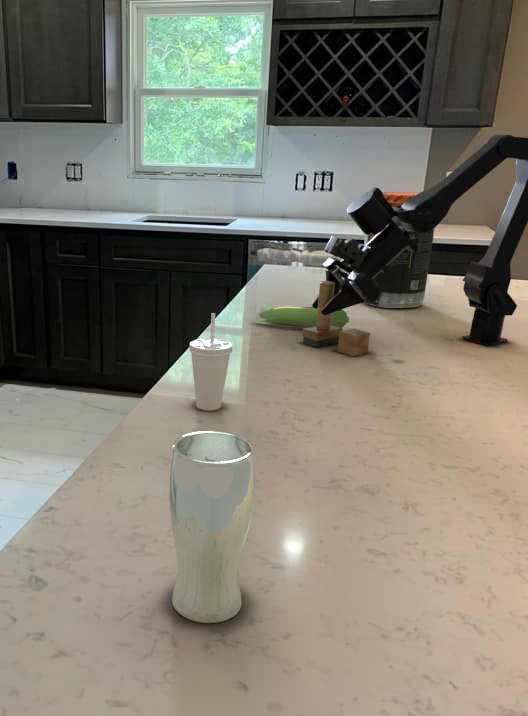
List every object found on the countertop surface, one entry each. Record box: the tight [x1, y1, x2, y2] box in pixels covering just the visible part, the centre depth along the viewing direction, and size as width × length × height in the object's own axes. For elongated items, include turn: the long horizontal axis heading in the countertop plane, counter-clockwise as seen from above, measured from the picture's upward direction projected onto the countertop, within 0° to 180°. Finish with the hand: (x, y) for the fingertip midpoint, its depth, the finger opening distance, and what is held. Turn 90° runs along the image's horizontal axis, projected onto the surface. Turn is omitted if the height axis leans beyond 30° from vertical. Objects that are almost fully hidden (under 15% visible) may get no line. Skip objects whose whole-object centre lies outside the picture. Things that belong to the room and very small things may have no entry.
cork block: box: [337, 328, 371, 357], centre depth 139 cm, size 4×4×4 cm
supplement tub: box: [363, 191, 435, 309], centre depth 176 cm, size 16×16×26 cm
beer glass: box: [168, 430, 256, 624], centre depth 61 cm, size 7×7×15 cm
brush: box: [302, 280, 343, 348], centre depth 143 cm, size 7×4×12 cm, turn 126°
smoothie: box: [188, 312, 234, 411], centre depth 108 cm, size 6×6×14 cm
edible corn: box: [253, 306, 350, 329], centre depth 156 cm, size 5×20×5 cm, turn 74°
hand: (317, 310), depth 143 cm, fingers open, 5 cm apart
